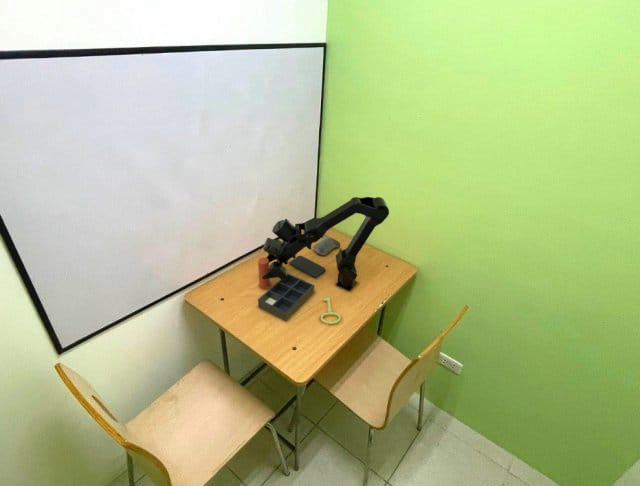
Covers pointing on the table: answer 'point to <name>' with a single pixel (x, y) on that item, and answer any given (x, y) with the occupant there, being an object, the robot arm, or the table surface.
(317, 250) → the stone
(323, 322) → the key
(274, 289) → the grid
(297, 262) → the phone
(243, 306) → the table surface
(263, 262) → the reddish brown cylinder
